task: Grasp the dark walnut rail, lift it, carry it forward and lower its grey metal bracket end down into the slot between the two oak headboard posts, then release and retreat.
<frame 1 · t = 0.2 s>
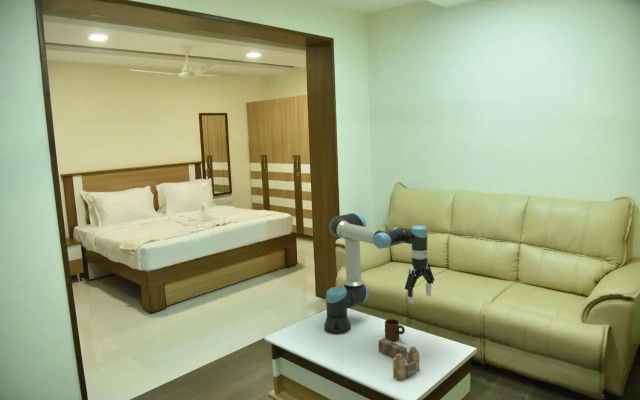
hand: (420, 299, 219), 27 cm above the table, fingers open, 13 cm apart
mug: (395, 339, 236), on the table
rail: (391, 355, 219), on the table
headboard: (406, 373, 202), on the table
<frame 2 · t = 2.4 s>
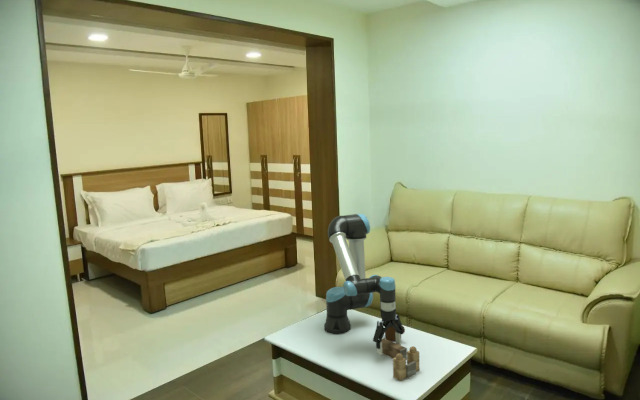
hand: (389, 349, 220), 2 cm above the table, fingers open, 13 cm apart
nothing on the table moved.
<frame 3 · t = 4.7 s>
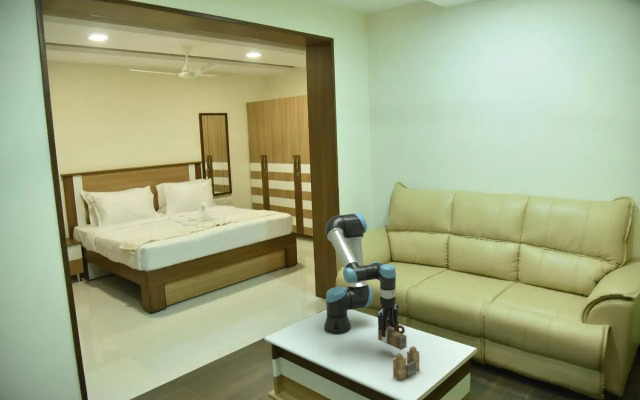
hand: (388, 340, 221), 7 cm above the table, fingers closed on rail, 4 cm apart
rail: (391, 343, 219), point 6 cm above the table, touching gripper
everything else where it was.
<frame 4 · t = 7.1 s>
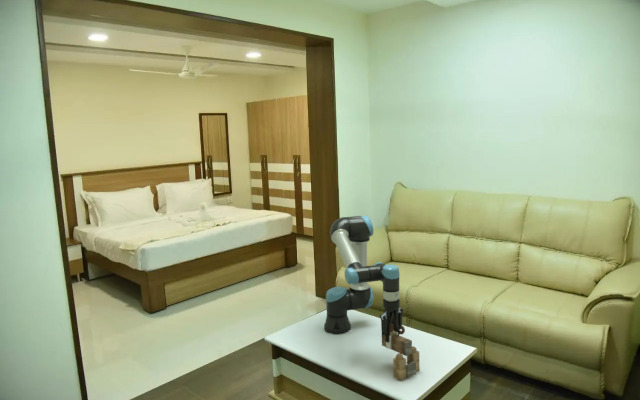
hand: (392, 346, 207), 10 cm above the table, fingers closed on rail, 4 cm apart
rail: (396, 348, 205), point 10 cm above the table, touching gripper
everything else where it was.
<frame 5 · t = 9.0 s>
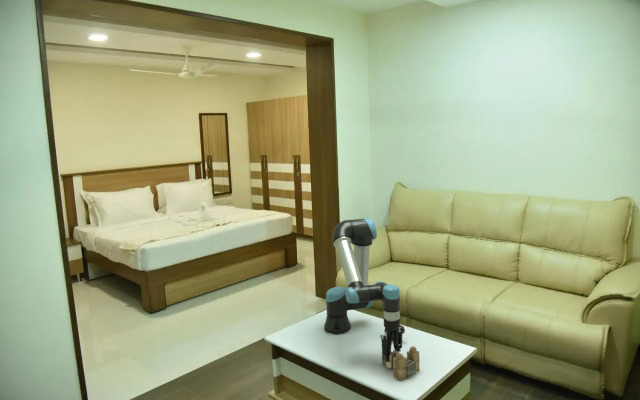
hand: (392, 365, 209), 1 cm above the table, fingers closed on rail, 4 cm apart
rail: (396, 368, 207), on the table, touching gripper
everything else where it was.
when the fingers open (0 cm above the table, at t = 9.8 s): rail stays where it is, on the table.
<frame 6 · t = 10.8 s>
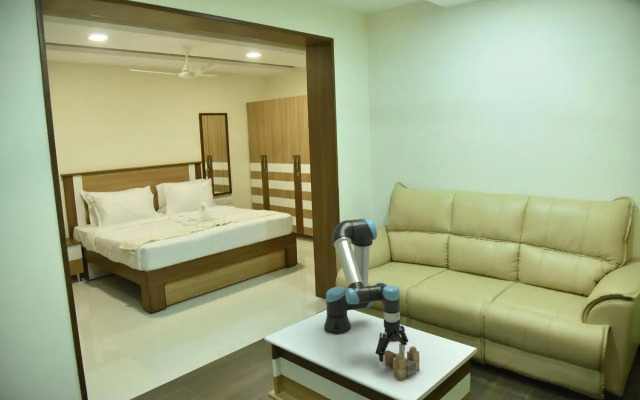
hand: (392, 362, 208), 2 cm above the table, fingers open, 13 cm apart
rail: (396, 368, 207), on the table
everything else where it was.
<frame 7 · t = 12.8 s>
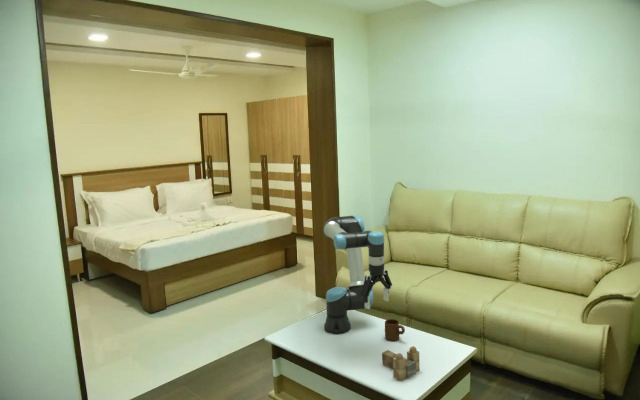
hand: (376, 304, 220), 25 cm above the table, fingers open, 13 cm apart
nothing on the table moved.
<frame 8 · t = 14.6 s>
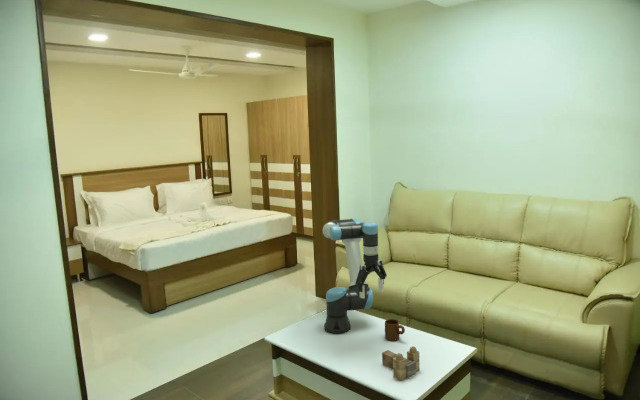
hand: (371, 294, 224), 29 cm above the table, fingers open, 13 cm apart
nothing on the table moved.
at the end: rail 0.9 cm from the target spot on the table beside the headboard, on the table; rail tilted 0°; the gripper is holding nothing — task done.
